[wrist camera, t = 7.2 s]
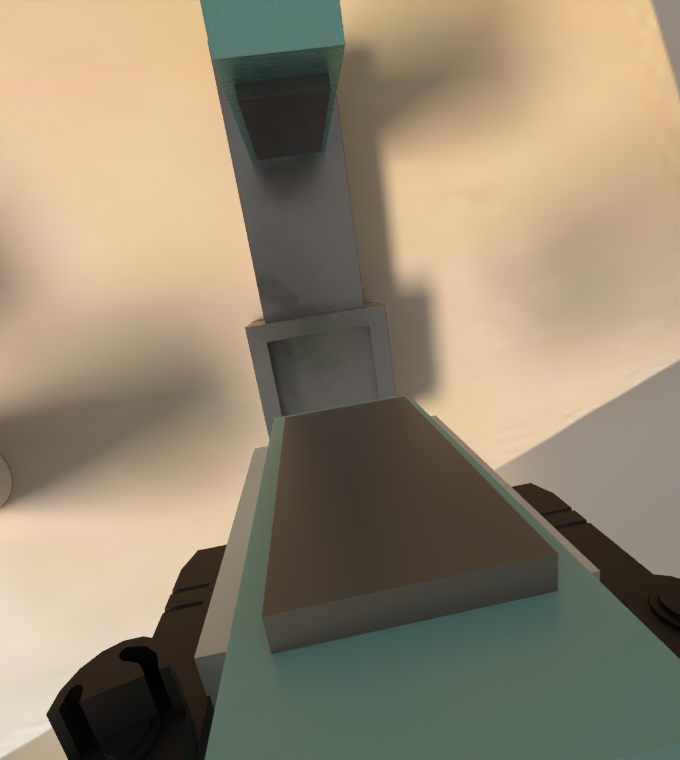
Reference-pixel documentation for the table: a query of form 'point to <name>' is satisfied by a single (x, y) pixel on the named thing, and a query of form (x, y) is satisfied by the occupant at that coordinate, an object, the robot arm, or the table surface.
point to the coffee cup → (4, 481)
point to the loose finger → (424, 613)
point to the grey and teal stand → (296, 204)
